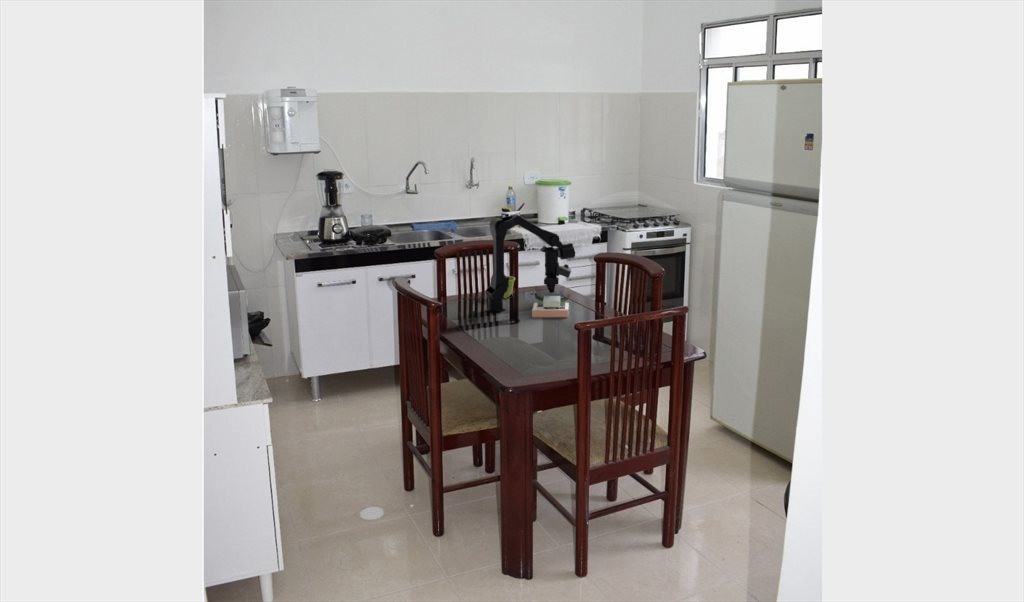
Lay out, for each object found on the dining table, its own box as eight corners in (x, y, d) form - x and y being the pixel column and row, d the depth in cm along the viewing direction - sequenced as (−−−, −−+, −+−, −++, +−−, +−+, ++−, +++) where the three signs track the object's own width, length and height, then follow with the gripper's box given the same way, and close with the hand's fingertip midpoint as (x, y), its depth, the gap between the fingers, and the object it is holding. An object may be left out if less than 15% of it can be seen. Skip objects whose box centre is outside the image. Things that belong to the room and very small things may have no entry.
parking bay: (534, 307, 343) (534, 300, 342) (568, 307, 341) (568, 300, 341) (532, 317, 328) (531, 310, 327) (568, 317, 327) (567, 310, 326)
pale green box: (544, 304, 347) (544, 292, 346) (560, 303, 347) (560, 292, 346) (543, 309, 338) (543, 297, 337) (559, 309, 337) (559, 297, 336)
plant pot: (515, 299, 357) (515, 280, 354) (494, 299, 357) (494, 281, 355) (515, 293, 366) (515, 275, 363) (495, 294, 366) (494, 276, 364)
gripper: (569, 265, 333) (570, 300, 338) (570, 255, 351) (570, 289, 356) (543, 265, 334) (544, 301, 339) (545, 256, 352) (546, 289, 357)
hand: (552, 295), depth 347 cm, fingers closed
